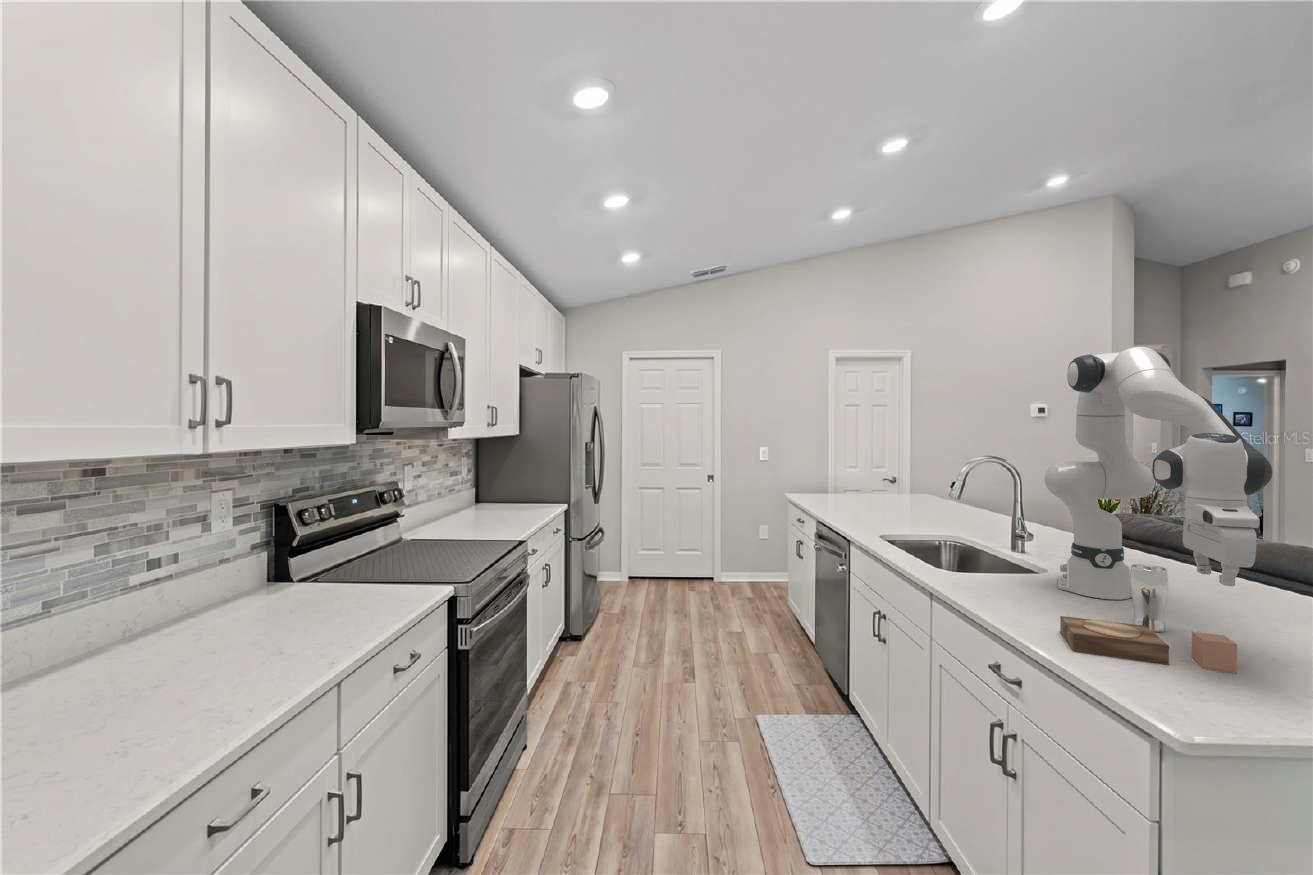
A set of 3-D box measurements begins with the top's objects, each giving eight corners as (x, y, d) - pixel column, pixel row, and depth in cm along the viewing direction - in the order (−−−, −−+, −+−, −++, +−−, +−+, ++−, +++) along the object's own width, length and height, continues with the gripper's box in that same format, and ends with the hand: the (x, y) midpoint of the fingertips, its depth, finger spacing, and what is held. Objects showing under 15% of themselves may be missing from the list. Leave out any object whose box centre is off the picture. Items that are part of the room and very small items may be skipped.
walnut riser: (1060, 632, 129) (1060, 614, 129) (1146, 643, 122) (1146, 624, 122) (1073, 651, 118) (1073, 631, 118) (1168, 664, 111) (1168, 643, 111)
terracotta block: (1191, 659, 114) (1192, 631, 114) (1223, 663, 112) (1224, 635, 111) (1203, 669, 109) (1203, 640, 109) (1236, 673, 107) (1236, 644, 107)
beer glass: (1175, 634, 127) (1176, 571, 127) (1141, 632, 128) (1142, 570, 128) (1154, 623, 134) (1155, 564, 133) (1122, 622, 135) (1123, 563, 135)
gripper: (1172, 505, 120) (1172, 566, 121) (1219, 518, 102) (1219, 590, 102) (1210, 506, 118) (1210, 569, 118) (1265, 520, 99) (1265, 594, 99)
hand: (1215, 579), depth 110 cm, fingers open, 8 cm apart
